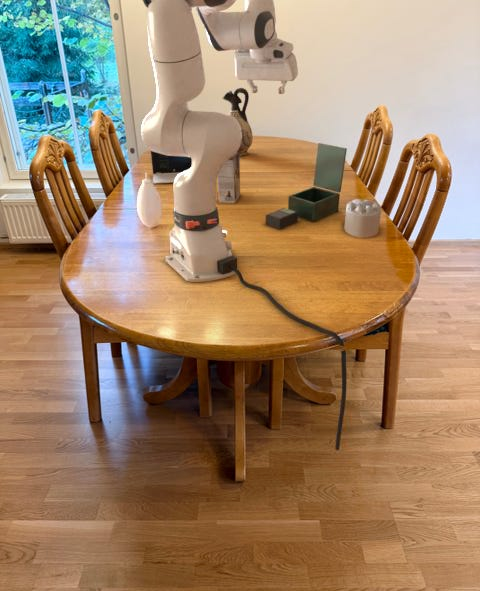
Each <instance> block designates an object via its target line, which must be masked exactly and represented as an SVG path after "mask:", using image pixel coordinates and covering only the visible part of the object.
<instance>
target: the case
mask: <svg viewBox="0 0 480 591" xmlns="http://www.w3.org/2000/svg"><path fill="white" fill-rule="evenodd" d="M340 196H341V193H339V192H335V191H331V190H328V189H324V188H320V187H316V186H311V187H309V188H306V189H304V190H301V191H298V192H296V193H293V194H290V195H288V197H287V198H288V202H287V209H289V210H292V211H296V212H298V219H299V218H300V219H303V220H305V221H309V222H311V223H315V222H317V221H320V220H322V219H324V218H326V217H329V216H331V215H333V214H336V213H338V212H339V209H340V208H339V207H340V206H339V205H340Z"/></svg>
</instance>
